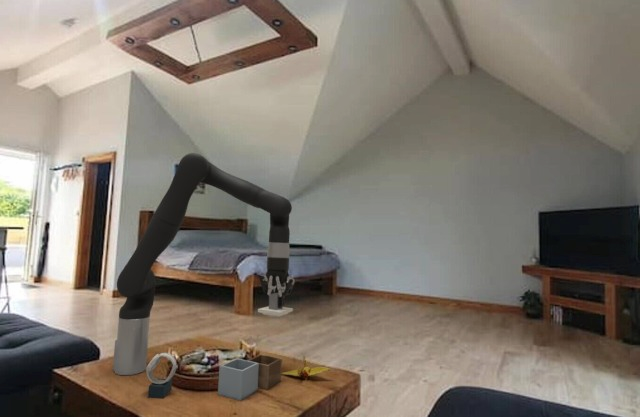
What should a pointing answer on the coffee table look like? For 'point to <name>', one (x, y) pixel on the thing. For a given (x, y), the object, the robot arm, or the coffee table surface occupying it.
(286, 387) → the coffee table surface
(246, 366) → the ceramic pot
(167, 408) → the coffee table surface
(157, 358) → the watch
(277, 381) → the walnut box
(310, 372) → the origami crane
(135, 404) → the coffee table surface
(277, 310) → the lid
